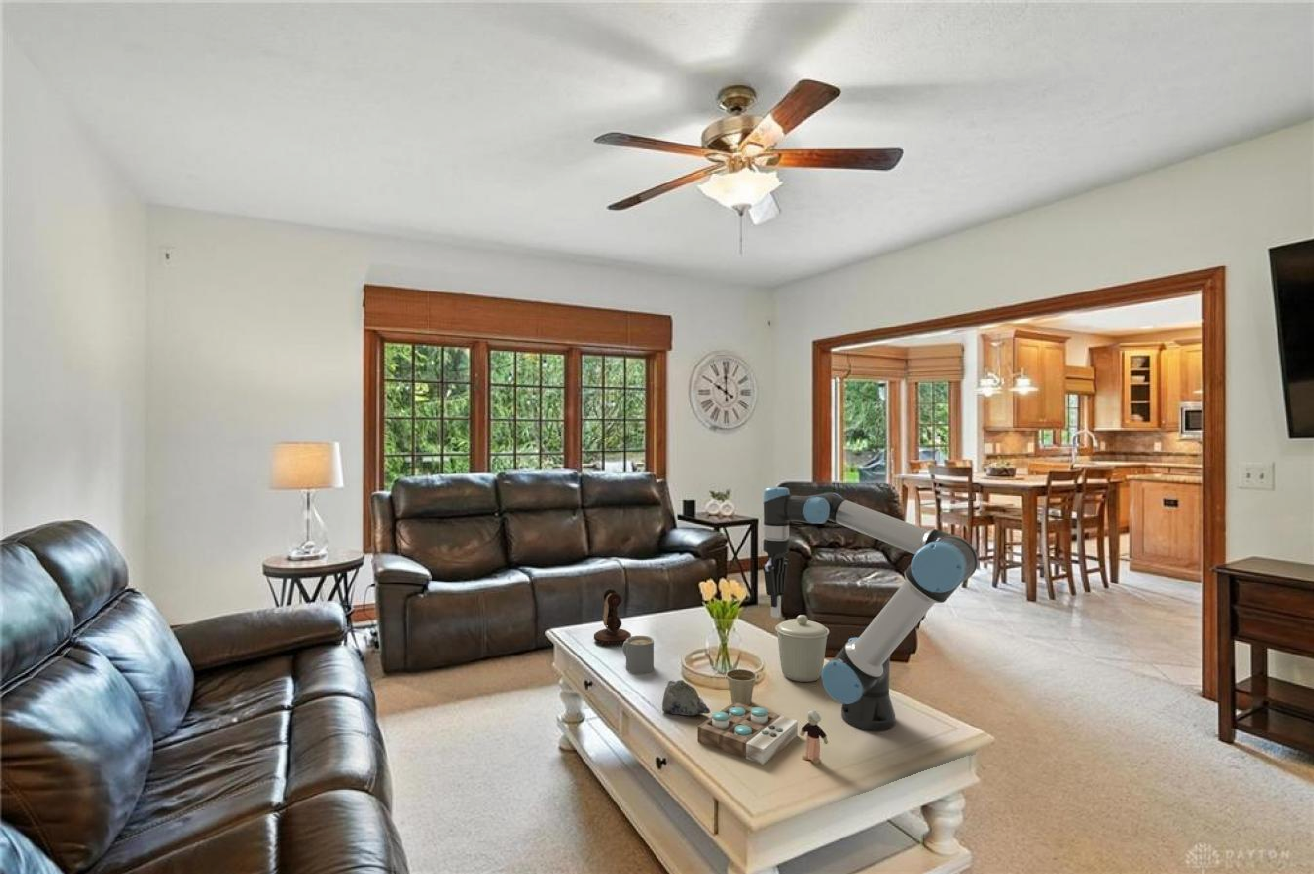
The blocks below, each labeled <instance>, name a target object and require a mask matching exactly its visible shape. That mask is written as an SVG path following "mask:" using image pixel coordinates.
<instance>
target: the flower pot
mask: <svg viewBox="0 0 1314 874" xmlns="http://www.w3.org/2000/svg"><path fill="white" fill-rule="evenodd" d="M725 675H726V677H727V682H728V686H729V693H730V694H729V695H730V701H731V704H732V703H734V702H737V703H741V704H744V705H747V706H751V703H752V698H753V692H754V686H755V683H756V682H755V681H756V679H757V678H758V675H757V673H756V672H754V671H752V670H748V669H746V668H745V669H744V668H735V669H734V668H733V669H730V670H728V671H726V674H725Z"/></svg>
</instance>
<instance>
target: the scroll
mask: <svg viewBox="0 0 1314 874" xmlns="http://www.w3.org/2000/svg"><path fill="white" fill-rule="evenodd" d="M603 600H604V607H603V614H602V615H603V617H602V618H603V619H602V620H603V624H604V626H605V628H602V629H600V630H598V631H597V632H595V633H594V634H593V640H594V641H596V642H597V643H600V644H601V646H602V647H605V645H606V644H607V645H608V644H609V645H610V644H611V645H612V644H614V645H615V644H622V643H624V642H625V641H626V639H627V638H629V637H632V635H631V632H629V631H628V630H626V629H623V628H621V626H622V620H621V618H620V617H619V616H618V615H619V612H618V607H619V606H620V605H621V604H622V597H621V595H620V594H619V593H618V592H617V591H616V590H615V589H613V588H612V589H611V588H609V589H607V590H606V591H605V592H604V594H603Z"/></svg>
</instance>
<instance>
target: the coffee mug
mask: <svg viewBox="0 0 1314 874" xmlns="http://www.w3.org/2000/svg"><path fill="white" fill-rule="evenodd" d="M621 647H622V654H623V655H624V657H625V670H626V671H627V672H629V673H632V674H636V675H637V674H642V675H643V674H648V673H651V672H652V671H653V670H655V639H654V638H653V637H651V636H648V635H634V636H633V635H631V637H629V638H627V639H626V641H625V642H623V644H622V646H621Z"/></svg>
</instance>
